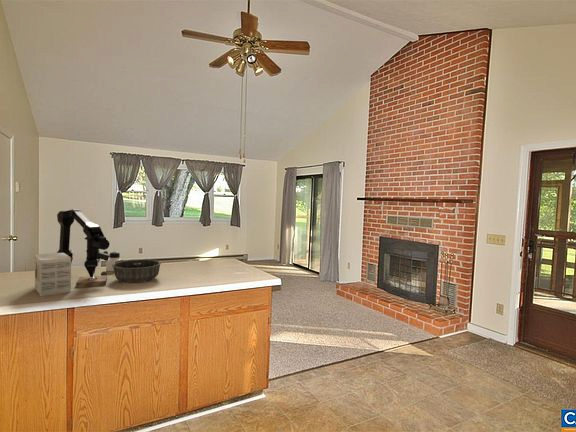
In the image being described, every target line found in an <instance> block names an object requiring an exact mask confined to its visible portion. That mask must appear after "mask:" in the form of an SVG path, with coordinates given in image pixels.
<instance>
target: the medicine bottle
mask: <svg viewBox="0 0 576 432" xmlns="http://www.w3.org/2000/svg"><path fill="white" fill-rule="evenodd" d="M108 254H109V255H110V256H109V258H108V261H105V271H106V272H111V273H114V268H113V266H112V265H113V264H115V263H118V262H122V261H124V260H123V259H122V258H121V257H120V256H121V254H120V252H118V251H112V252H110V253H108Z"/></svg>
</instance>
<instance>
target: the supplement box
mask: <svg viewBox="0 0 576 432" xmlns="http://www.w3.org/2000/svg"><path fill="white" fill-rule="evenodd" d="M34 288H35V291H37V293H38V295H39V296H40V297H44V296H53V295H59V294H64V293H65V294H67V293H71V292H72V291H71V288H72V263H71V257H70V256H68V255H67V254H65V253H57V252H51V253H43V254H42V253H41V254H40V253H39V254H34Z"/></svg>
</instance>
